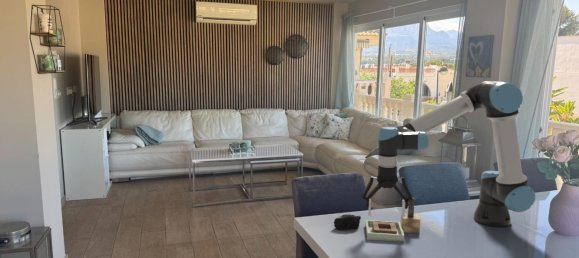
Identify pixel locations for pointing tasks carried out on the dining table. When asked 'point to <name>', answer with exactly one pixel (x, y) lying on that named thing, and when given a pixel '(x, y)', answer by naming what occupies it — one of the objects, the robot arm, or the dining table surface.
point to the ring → (384, 227)
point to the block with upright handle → (410, 220)
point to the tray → (383, 236)
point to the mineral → (347, 222)
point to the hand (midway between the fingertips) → (386, 215)
